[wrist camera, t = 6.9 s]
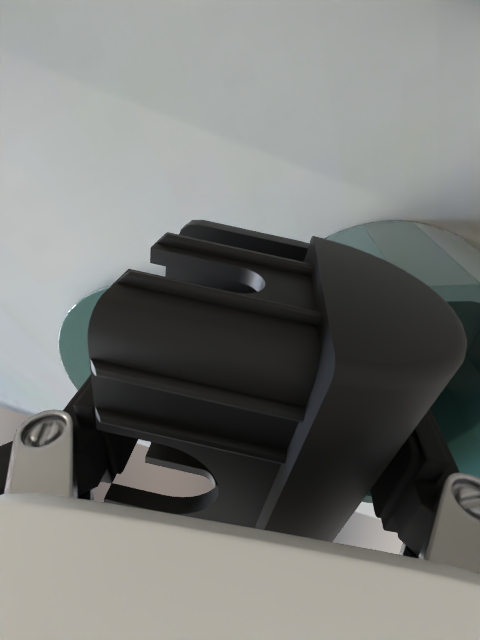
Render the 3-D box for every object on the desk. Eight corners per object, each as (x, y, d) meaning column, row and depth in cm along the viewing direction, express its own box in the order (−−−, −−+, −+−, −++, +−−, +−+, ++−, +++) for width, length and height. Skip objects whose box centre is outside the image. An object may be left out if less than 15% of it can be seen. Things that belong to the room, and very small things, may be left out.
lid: (86, 414, 36) (59, 456, 32) (43, 268, 27) (-4, 299, 22) (244, 437, 35) (238, 483, 31) (260, 292, 26) (254, 330, 21)
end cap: (313, 444, 16) (325, 632, 10) (168, 411, 16) (100, 579, 10) (408, 247, 10) (555, 417, 4) (185, 199, 10) (57, 306, 5)
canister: (256, 389, 31) (247, 484, 23) (280, 206, 22) (276, 262, 14) (438, 413, 30) (491, 521, 22) (543, 231, 21) (702, 308, 13)
